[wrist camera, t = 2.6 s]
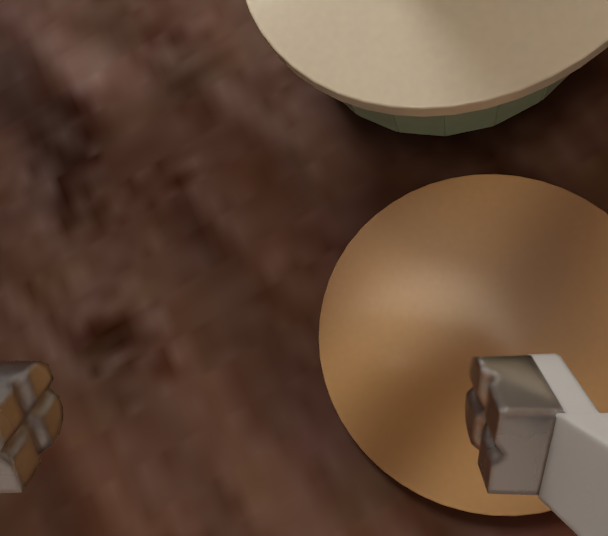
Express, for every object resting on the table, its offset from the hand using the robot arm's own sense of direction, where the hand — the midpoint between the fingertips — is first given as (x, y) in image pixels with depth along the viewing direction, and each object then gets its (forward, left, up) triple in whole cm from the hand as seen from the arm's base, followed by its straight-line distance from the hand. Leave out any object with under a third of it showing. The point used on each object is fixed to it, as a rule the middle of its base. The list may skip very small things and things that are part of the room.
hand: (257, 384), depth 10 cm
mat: (+4, +3, -15) cm, 16 cm away
